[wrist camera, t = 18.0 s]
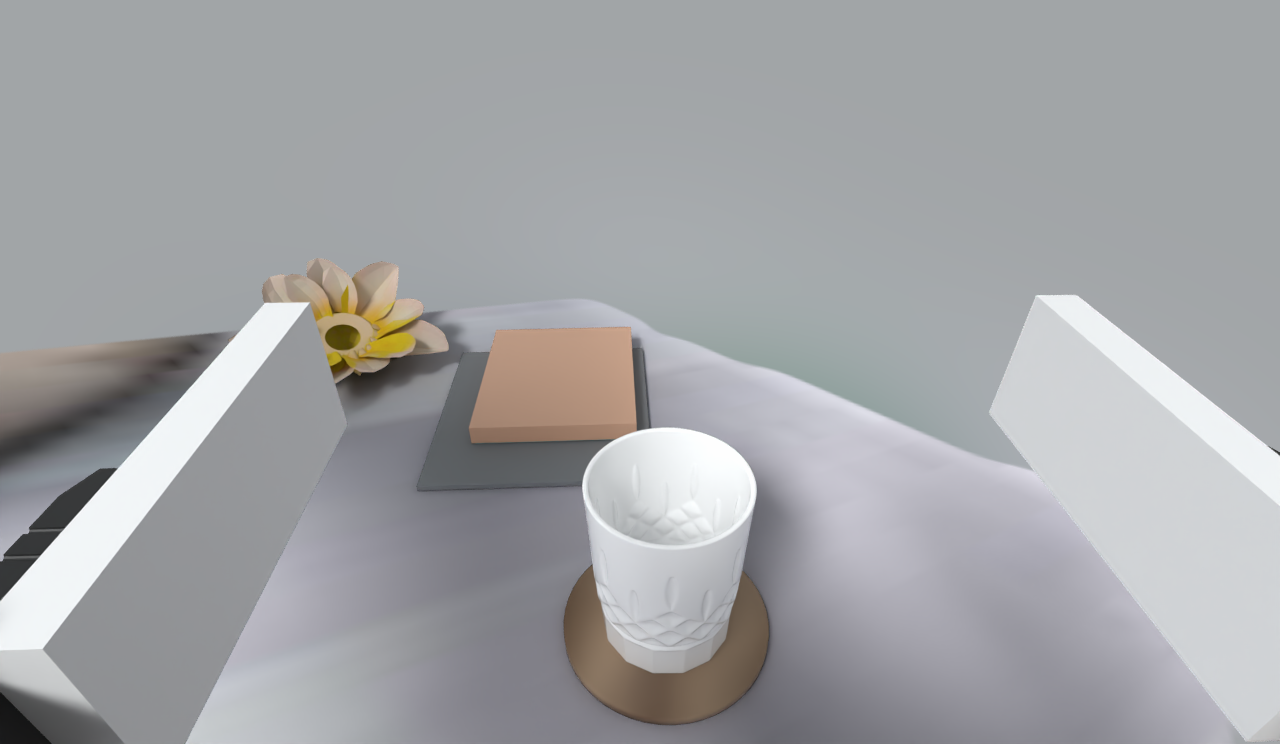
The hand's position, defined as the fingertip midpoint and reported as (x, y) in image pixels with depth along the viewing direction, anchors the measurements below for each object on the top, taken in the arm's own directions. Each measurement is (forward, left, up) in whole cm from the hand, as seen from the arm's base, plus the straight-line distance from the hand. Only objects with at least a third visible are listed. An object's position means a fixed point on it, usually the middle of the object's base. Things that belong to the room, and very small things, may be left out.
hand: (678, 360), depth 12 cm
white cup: (+1, +12, -24) cm, 27 cm away
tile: (-6, +27, -23) cm, 36 cm away
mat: (-7, +31, -25) cm, 40 cm away
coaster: (+1, +12, -25) cm, 27 cm away
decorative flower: (-24, +37, -25) cm, 51 cm away
